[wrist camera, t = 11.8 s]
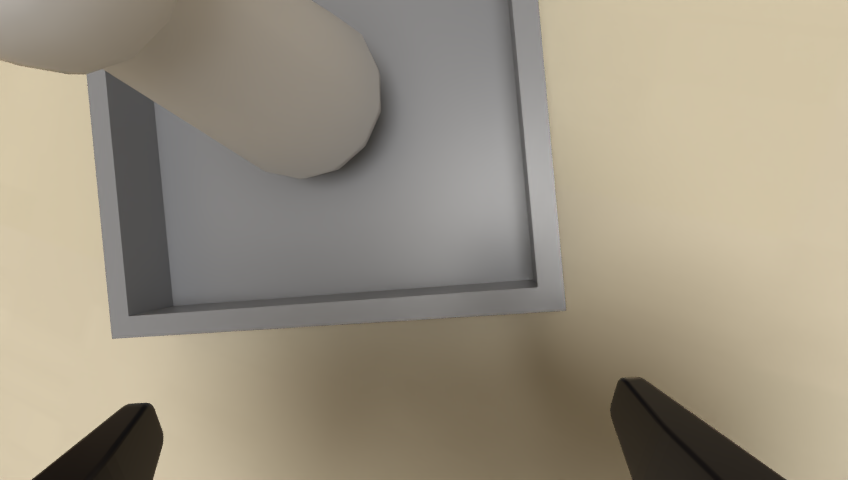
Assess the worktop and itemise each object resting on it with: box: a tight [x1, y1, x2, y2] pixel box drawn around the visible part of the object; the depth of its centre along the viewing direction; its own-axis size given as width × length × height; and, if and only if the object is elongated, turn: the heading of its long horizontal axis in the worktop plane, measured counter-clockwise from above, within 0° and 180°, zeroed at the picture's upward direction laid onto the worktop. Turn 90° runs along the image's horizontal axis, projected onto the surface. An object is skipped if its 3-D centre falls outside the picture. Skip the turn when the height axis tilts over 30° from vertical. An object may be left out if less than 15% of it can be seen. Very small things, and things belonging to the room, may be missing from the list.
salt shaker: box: [0, 0, 381, 179], centre depth 12 cm, size 6×6×13 cm
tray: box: [87, 0, 566, 339], centre depth 18 cm, size 17×17×3 cm
